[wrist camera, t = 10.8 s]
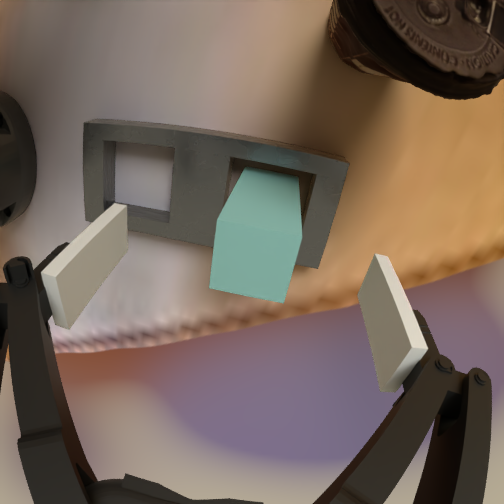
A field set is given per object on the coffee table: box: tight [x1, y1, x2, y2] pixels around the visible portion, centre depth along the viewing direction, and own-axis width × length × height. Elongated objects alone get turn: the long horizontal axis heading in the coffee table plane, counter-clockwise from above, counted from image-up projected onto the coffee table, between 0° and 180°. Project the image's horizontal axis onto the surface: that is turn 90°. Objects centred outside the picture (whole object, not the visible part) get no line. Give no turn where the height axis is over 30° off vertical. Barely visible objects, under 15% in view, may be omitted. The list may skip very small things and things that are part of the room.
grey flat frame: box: [83, 119, 349, 269], centre depth 23 cm, size 20×9×2 cm, turn 80°
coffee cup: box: [328, 0, 504, 100], centre depth 12 cm, size 9×8×13 cm
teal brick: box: [209, 166, 302, 303], centre depth 20 cm, size 4×4×10 cm
